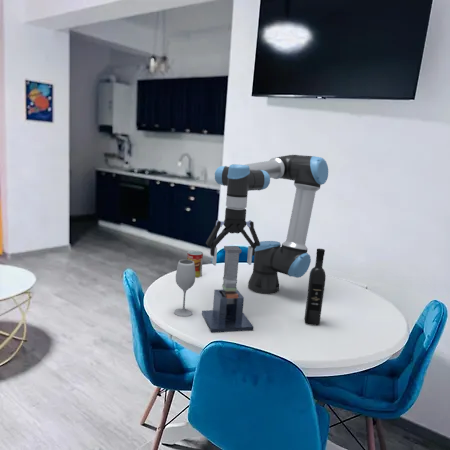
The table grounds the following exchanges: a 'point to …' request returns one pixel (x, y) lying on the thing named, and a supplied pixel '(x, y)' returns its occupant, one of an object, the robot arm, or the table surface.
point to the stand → (227, 314)
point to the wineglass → (185, 282)
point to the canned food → (196, 261)
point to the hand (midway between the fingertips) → (231, 264)
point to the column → (230, 272)
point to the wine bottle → (315, 291)
